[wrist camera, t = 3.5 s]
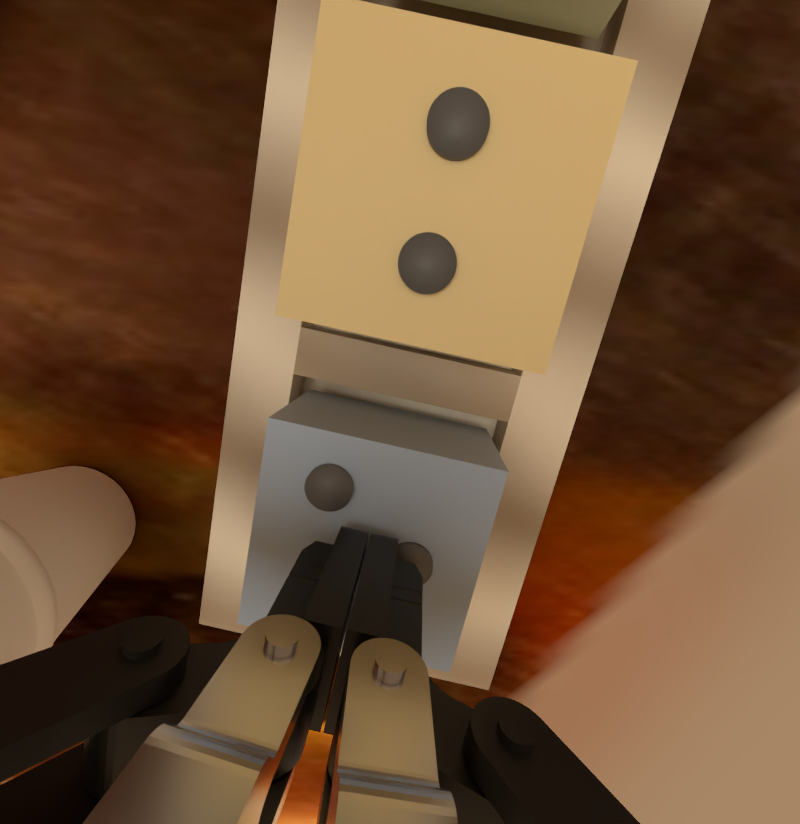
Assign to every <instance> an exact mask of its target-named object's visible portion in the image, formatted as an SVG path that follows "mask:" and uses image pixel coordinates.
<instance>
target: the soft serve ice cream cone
mask: <svg viewBox="0 0 800 824" xmlns="http://www.w3.org/2000/svg"><path fill="white" fill-rule="evenodd" d="M135 526H136V521H135V513H134V510H133V506H132V504H131V502H130V500H129V498H128V496H127V495H126V493H125V492H124V491H123V489H122V488H121V487H120V486H119V485H118V484H117V483H116V482H115V481H114V480H112V479H111V478H110V477H108V476H107V475H105V474H103V473H101V472H99V471H97V470H94V469H90V468H86V467H81V466H67V467H60V468H55V469H50V470H44V471H39V472H34V473H29V474H23V475H18V476H13V477H7V478H2V479H0V665H1V664H4V663H7V662H10V661H13V660H15V659H18V658H21V657H24V656H27V655H30V654H32V653H35V652H38V651H41V650H44V649H47V648H49V647H52V646H53V643H54V641H55V640H56V638H57V637H58V636H59V635H60V633H61V632H62V631H63V630H64V628H65V627H66V626H67V625H68V623H69V622H70V621H71V619H72V618H73V617H74V616H75V614H76V613H77V612H78V611H79V609H80V608H81V607H82V606H83V604H84V603H85V602H86V601H87V599H88V598H89V597H90V596H91V594H92V593H93V592H94V590H95V589H96V588H97V587H98V585H99V584H100V583H101V582H102V580H103V579H104V578H105V577H106V575H107V574H108V573H109V572H110V570H111V569H112V568H113V566H114V565H115V564H116V563H117V561H118V560H119V559H120V558H121V556H122V555H123V554H124V553H125V551H126V550H127V549H128V547H129V546H130V544H131V542H132V539H133V537H134V534H135Z"/></svg>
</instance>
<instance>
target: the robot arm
mask: <svg viewBox="0 0 800 824" xmlns="http://www.w3.org/2000/svg"><path fill="white" fill-rule="evenodd" d="M368 534H369V532H365V531H361V530H357V529H352V528H348V527H344V526H341V528H340V530H339V533H338V535H337V538H336V540H335V543H334V545H333V544H328V543H324V542H320V541H315V542H313V543H312V544H310V545H309V546H307V547H306V548H304V549H302V551H301V553H300V555H299V556H298V558H297V560H296V562H295V565H294V566H293V568H292V570H291V571H290V573H289V576H288V577H287V579H286V581H285V583H284V585H283V586H282V588H281V590H280V592H279V594H278V596H277V598H276V599H275V601H274V603H273V605H272V607H271V609H270V611H269V613H268V614H267V616H266V617H263V618H261V619H259V620H257V621H255V622H254V623H252V624H251V625H250V626H248V628H247V629H246V630H245V631H244V632H243V634H242V635H241V637H240V638H239V639H236V640H233V641H229V642H223V643H204V644H190V636H189V633H188V631H187V629H186V628H185V626H184V625H183V624H181V623H180V622H179V621H177V620H174V619H172V618H169V617H164V616H142V617H137V618H133V619H129V620H126V621H123V622H120V623H118V624H115V625H112V626H109V627H106V628H103V629H101V630H98V631H95V632H92V633H89V634H86V635H84V636H81V637H78V638H75V639H72V640H69V641H67V642H64V643H61V644H58V645H55V646H52V647H49V648H47V649H44V650H41V651H38V652H35V653H32V654H30V655H27V656H24V657H21V658H18V659H15V660H13V661H10V662H7V663H4V664H1V665H0V782H2V781H4V780H6V779H8V778H10V777H12V776H14V775H16V774H18V773H19V772H21V771H23V770H25V769H27V768H29V767H31V766H33V765H35V764H37V763H39V762H41V761H43V760H45V759H47V758H49V757H51V756H53V755H55V754H57V753H59V752H61V751H63V750H65V749H67V748H69V747H71V746H73V745H75V744H77V743H79V742H81V741H83V740H84V743H83V744H81V745H79V746H77V747H75V748H73V749H71V750H69V751H67V752H65V753H63V754H61V755H59V756H57V757H55V758H53V759H51V760H49V761H47V762H45V763H43V764H41V765H39V766H37V767H35V768H34V769H32V770H30V771H28V772H26V773H24V774H22V775H20V776H18V777H16V778H14V779H12V780H10V781H8V782H6V783H4V784H2V785H0V824H276V823H277V820H278V817H279V815H280V812H281V809H282V806H283V804H284V801H285V798H286V795H287V793H288V790H289V787H290V785H291V782H292V779H293V776H294V773H295V769H296V764H297V762H298V760H299V759H300V757H301V755H302V752H303V749H304V745H305V742H306V738H307V735H308V731H309V730H313V731H318V732H320V730H321V726H322V723H323V719H324V715H325V711H326V707H327V703H328V699H329V695H330V691H331V687H332V684H333V680H334V676H335V672H336V668H337V664H338V660H339V656H340V652H341V649H342V652H341V656H340V661H339V665H338V670H337V674H336V679H335V683H334V688H333V692H332V697H331V701H330V706H329V710H328V715H327V719H326V724H325V728H324V733H327V734H332V735H333V739H332V744H331V748H330V753H329V758H328V762H327V766H326V771H325V775H324V780H323V785H322V791H321V798H320V804H319V811H318V818H317V824H640V823H639V822H638V821H637V820H636V819H635V818H634V817H633V816H632V815H631V814H630V812H629V811H627V810H626V808H625V807H624V806H623V805H622V804H621V803H620V802H619V801H618V800H617V799H616V798H615V797H614V796H613V795H612V794H611V792H610V791H609V790H608V789H607V788H606V787H605V786H604V785H603V784H602V783H601V782H600V781H599V780H598V779H597V778H596V776H595V775H594V774H593V773H592V772H590V770H589V769H588V768H587V767H586V766H585V765H584V764H583V763H582V762H581V761H580V760H579V759H578V757H577V756H576V755H575V754H574V753H573V752H572V751H571V750H570V749H569V748H568V747H567V746H566V745H565V744H564V743H563V742H562V741H561V740H560V738H559V737H557V735H556V734H555V733H554V732H553V731H552V730H551V729H550V728H549V727H548V726H547V725H546V724H545V723H544V721H543V720H542V719H541V718H540V717H538V716H537V715H536V714H535V713H534V712H533V711H532V710H530V709H529V708H528V707H526V706H524V705H523V704H521V703H519V702H517V701H515V700H512V699H509V698H504V697H489V698H486V699H483V700H482V701H480V702H479V703H478V704H477V705H476V706H475V707H474V709H472V708H470V707H468V706H467V705H465V704H463V703H461V702H459V701H457V700H455V699H454V698H452V697H450V696H449V695H447V694H446V693H444V692H443V691H442V690H441V689H439V688H438V687H437V686H436V685H435V684H434V682H433V681H432V680H431V679H430V677H429V676H428V670H427V667H426V664H425V662H424V661H423V659H422V600H423V595H422V592H423V577H422V575H421V573H420V572H419V570H418V568H417V566H416V565H415V563H411V562H407V561H402V560H398V559H396V556H397V548H398V539H396V538H392V537H387V536H383V535H379V534H374V533H371V536H370V539H369V543H368V547H367V551H366V555H365V559H364V563H363V567H362V571H361V575H360V570H361V566H362V562H363V557H364V553H365V548H366V544H367V539H368ZM359 575H360V578H359ZM358 579H359V582H358ZM357 584H358V586H357ZM356 588H357V590H356ZM355 593H356V594H355ZM354 597H355V598H354ZM353 601H354V602H353ZM352 605H353V606H352ZM351 609H352V610H351ZM350 613H351V614H350ZM345 633H346V634H345ZM344 637H345V638H344ZM343 641H344V643H343ZM342 645H343V647H342Z"/></svg>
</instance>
